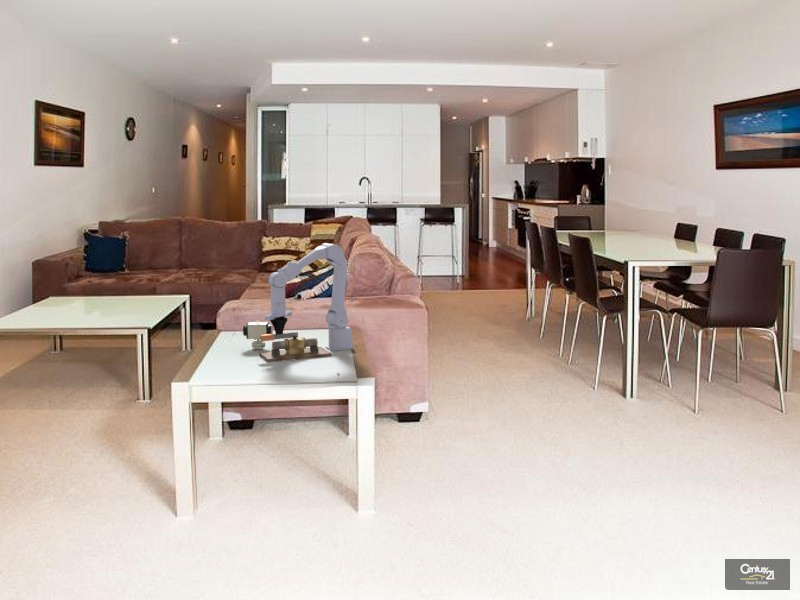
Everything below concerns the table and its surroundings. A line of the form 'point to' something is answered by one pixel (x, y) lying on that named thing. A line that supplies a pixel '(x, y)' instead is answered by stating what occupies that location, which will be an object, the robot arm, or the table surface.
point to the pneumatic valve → (257, 332)
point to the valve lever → (278, 336)
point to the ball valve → (294, 350)
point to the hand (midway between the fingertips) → (279, 335)
